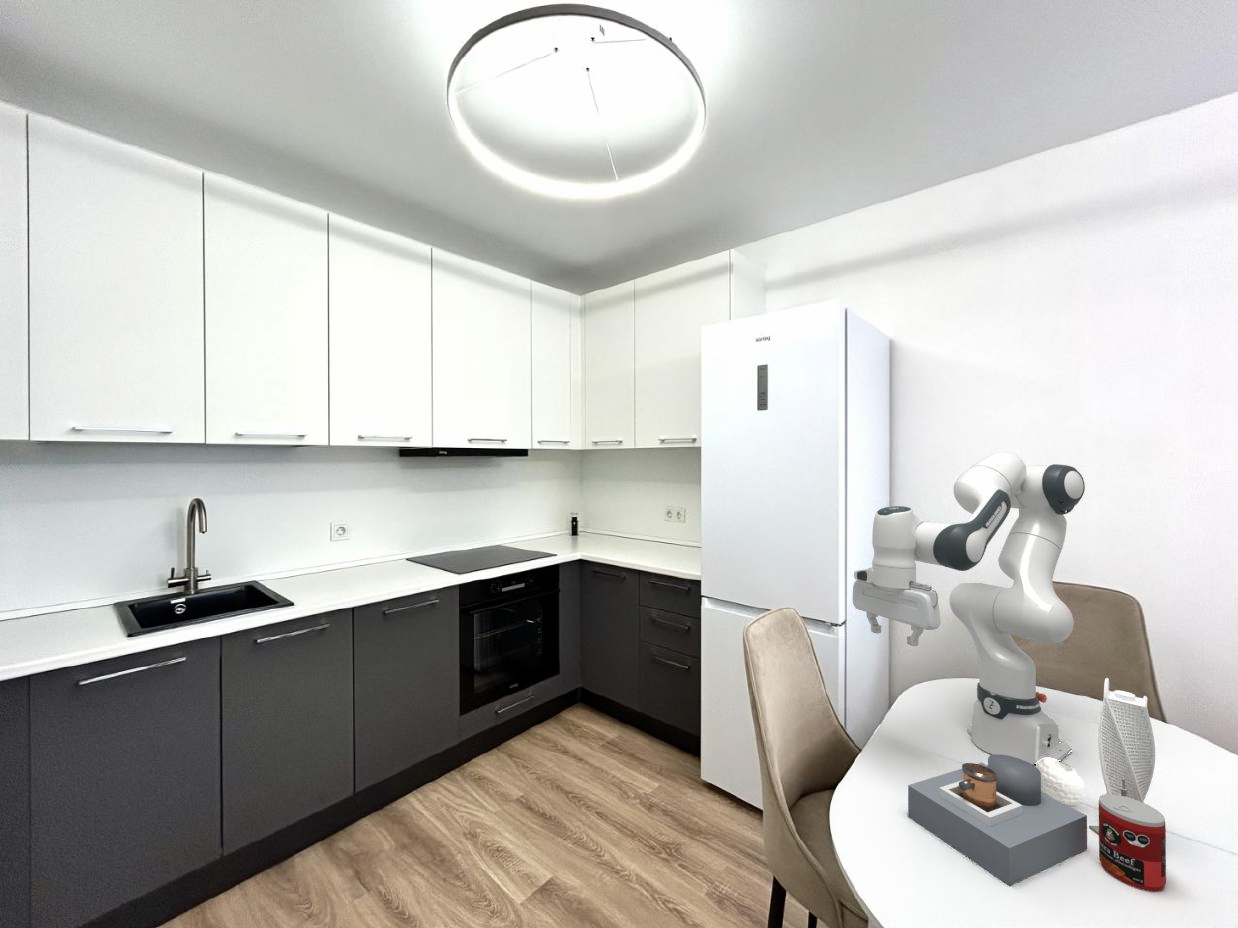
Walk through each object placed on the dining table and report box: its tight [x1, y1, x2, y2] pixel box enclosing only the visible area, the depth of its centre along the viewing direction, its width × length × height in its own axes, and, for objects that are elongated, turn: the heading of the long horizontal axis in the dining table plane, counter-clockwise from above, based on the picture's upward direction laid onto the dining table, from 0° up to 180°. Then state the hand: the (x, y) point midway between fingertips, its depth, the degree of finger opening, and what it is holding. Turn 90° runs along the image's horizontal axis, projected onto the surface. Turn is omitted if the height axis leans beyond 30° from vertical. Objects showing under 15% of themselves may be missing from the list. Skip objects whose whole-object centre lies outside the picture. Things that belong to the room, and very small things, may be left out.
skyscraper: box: [1088, 677, 1156, 836], centre depth 94 cm, size 8×8×28 cm
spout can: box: [959, 762, 997, 813], centre depth 93 cm, size 7×5×9 cm
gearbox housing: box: [907, 754, 1088, 887], centre depth 95 cm, size 22×18×11 cm
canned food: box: [1098, 793, 1167, 892], centre depth 85 cm, size 8×8×11 cm
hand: (893, 638), depth 116 cm, fingers open, 8 cm apart
